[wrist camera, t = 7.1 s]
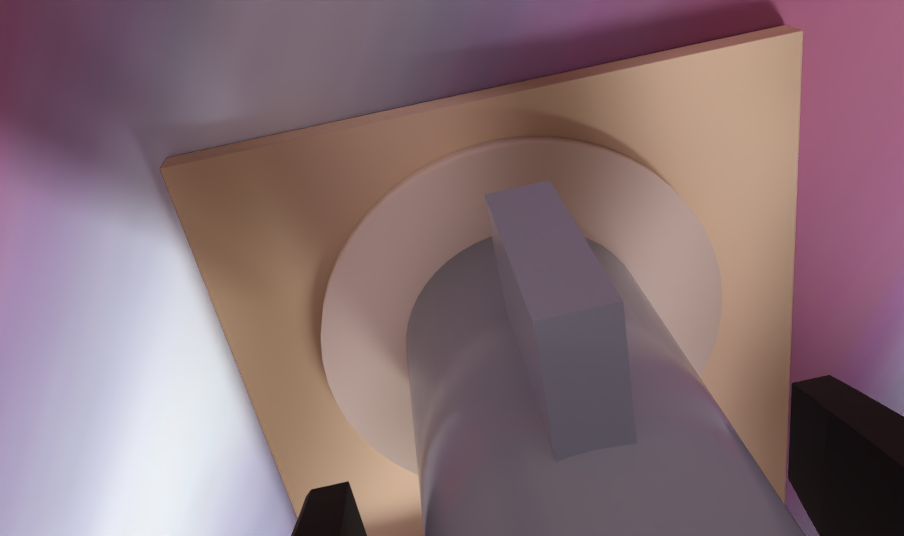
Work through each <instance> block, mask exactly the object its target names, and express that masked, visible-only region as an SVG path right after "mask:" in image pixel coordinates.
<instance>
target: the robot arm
mask: <svg viewBox="0 0 904 536" xmlns="http://www.w3.org/2000/svg"><path fill="white" fill-rule="evenodd" d="M788 478H789V480H790V482H791V484H792V486H793V488H794V490H795V491H796V493H797V495H798V497H799V499H800V501H801V503H802V505H803V507H804V508H805V510H806V512H807V514H808V516H809V517H810V519H811V521H812V523H813V524H814V526H815V528H816V530H817V531H818V533H819V535H820V536H904V417H903V416H901V415H900V414H898V413H896V412H894V411H893V410H891V409H889V408H887V407H886V406H884V405H882V404H880V403H879V402H877V401H875V400H873V399H872V398H870V397H868V396H866V395H865V394H863V393H861V392H859V391H858V390H856V389H854V388H852V387H850V386H849V385H847V384H845V383H843V382H841V381H840V380H838V379H836V378H834V377H832V376H830V375H827V376H822V377H818V378H813V379H809V380H804V381H800V382H795V383H792V395H791V420H790V445H789V470H788ZM291 536H367V534H366V531H365V528H364V525H363V522H362V519H361V516H360V513H359V510H358V507H357V504H356V501H355V498H354V495H353V492H352V489H351V486H350V483H349V481H347V482H343V483H338V484H334V485H329V486H324V487H320V488H315V489H311V490H310V492H309V493H308V494H307V496H306V498H305V500H304V503H303V506H302V509H301V512H300V514H299V517H298V519H297V522H296V525H295V527H294V530H293V532H292V535H291Z"/></svg>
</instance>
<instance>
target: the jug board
mask: <svg viewBox="0 0 904 536" xmlns="http://www.w3.org/2000/svg"><path fill="white" fill-rule="evenodd" d="M802 46H803V30H800V29H797V28H795V27H792V26H789V25H782V26H778V27H773V28H769V29H764V30H759V31H755V32H750V33H745V34H741V35H736V36H731V37H727V38H722V39H717V40H713V41H708V42H703V43H699V44H694V45H689V46H685V47H680V48H675V49H671V50H666V51H661V52H657V53H652V54H648V55H643V56H638V57H634V58H629V59H624V60H620V61H615V62H610V63H606V64H601V65H596V66H592V67H587V68H582V69H578V70H573V71H568V72H564V73H559V74H554V75H550V76H545V77H540V78H536V79H531V80H526V81H522V82H517V83H513V84H508V85H503V86H499V87H494V88H489V89H485V90H480V91H475V92H471V93H466V94H461V95H457V96H452V97H447V98H443V99H438V100H433V101H429V102H424V103H419V104H415V105H410V106H405V107H401V108H396V109H392V110H387V111H382V112H378V113H373V114H368V115H364V116H359V117H354V118H350V119H345V120H340V121H336V122H331V123H326V124H322V125H317V126H312V127H308V128H303V129H298V130H294V131H289V132H284V133H280V134H275V135H270V136H266V137H261V138H257V139H252V140H247V141H243V142H238V143H233V144H229V145H224V146H219V147H215V148H210V149H205V150H201V151H196V152H191V153H187V154H182V155H177V156H173V157H168V158H166V160H165V161H164V163H163V164H162V166H161V167H160V171H161V174H162V176H163V179H164V181H165V184H166V186H167V189H168V192H169V194H170V197H171V199H172V202H173V204H174V207H175V209H176V212H177V214H178V217H179V219H180V222H181V224H182V227H183V230H184V232H185V235H186V237H187V240H188V242H189V245H190V247H191V250H192V252H193V255H194V257H195V260H196V263H197V265H198V268H199V270H200V273H201V275H202V278H203V280H204V283H205V285H206V288H207V290H208V293H209V295H210V298H211V301H212V303H213V306H214V308H215V311H216V313H217V316H218V318H219V321H220V323H221V326H222V328H223V331H224V333H225V336H226V339H227V341H228V344H229V346H230V349H231V351H232V354H233V356H234V359H235V361H236V364H237V366H238V369H239V371H240V374H241V377H242V379H243V382H244V384H245V387H246V389H247V392H248V394H249V397H250V399H251V402H252V404H253V407H254V410H255V412H256V415H257V417H258V420H259V422H260V425H261V427H262V430H263V432H264V435H265V437H266V440H267V442H268V445H269V448H270V450H271V453H272V455H273V458H274V460H275V463H276V465H277V468H278V470H279V473H280V475H281V478H282V480H283V483H284V486H285V488H286V491H287V493H288V496H289V498H290V501H291V503H292V506H293V508H294V511H295V513H296V516H297V519H298V517H299V514H300V512H301V509H302V506H303V503H304V500H305V498H306V496H307V494H308V493H309V492H310V490H311V489H315V488H320V487H324V486H329V485H334V484H338V483H343V482H347V481H349V483H350V486H351V489H352V492H353V495H354V498H355V501H356V504H357V507H358V510H359V513H360V516H361V519H362V522H363V525H364V528H365V531H366V534H367V536H424V531H423V521H422V510H421V500H420V490H419V479H418V469H417V458H416V448H415V437H414V427H413V417H412V406H411V396H410V385H409V375H408V364H407V354H406V333H407V326H408V321H409V318H410V314H411V311H412V309H413V306H414V304H415V302H416V300H417V297H418V296H419V294H420V293H421V291H422V289H423V288H424V286H425V285H426V283H427V282H428V281H429V280H430V278H431V277H432V276H433V275H434V274H435V272H436V271H437V270H439V269H440V268H441V267H442V266H443V265H444V264H445V263H446V262H447V261H448V260H450V259H451V258H452V257H454V256H455V255H457V254H458V253H459V252H461V251H462V250H464V249H466V248H468V247H470V246H471V245H473V244H475V243H477V242H479V241H482V240H484V239H487V238H489V237H492V234H491V228H490V223H489V218H488V212H487V207H486V202H485V196H484V194H489V193H493V192H498V191H502V190H507V189H511V188H516V187H520V186H525V185H529V184H534V183H538V182H543V181H547V180H550V182H551V183H552V185H553V186H554V188H555V190H556V191H557V193H558V195H559V196H560V198H561V200H562V201H563V203H564V205H565V206H566V208H567V210H568V211H569V213H570V215H571V216H572V218H573V220H574V221H575V223H576V224H577V226H578V228H579V229H580V231H581V233H582V234H583V236H584V237H586V238H588V239H590V240H592V241H594V242H596V243H598V244H600V245H602V246H603V247H605V248H606V249H607V250H609V251H610V252H611V253H613V254H614V255H615V256H616V257H617V258H618V259H619V260H620V261H621V262H622V263H623V264H624V265H625V267H626V268H627V269H628V271H629V272H630V273H631V275H632V276H633V278H634V279H635V281H636V282H637V284H638V285H639V287H640V288H641V290H642V291H643V293H644V294H645V296H646V297H647V299H648V300H649V302H650V303H651V305H652V306H653V308H654V309H655V311H656V312H657V314H658V315H659V317H660V318H661V320H662V321H663V323H664V324H665V326H666V327H667V329H668V330H669V332H670V333H671V335H672V336H673V338H674V339H675V341H676V342H677V344H678V345H679V347H680V348H681V350H682V351H683V353H684V354H685V356H686V357H687V359H688V360H689V362H690V363H691V365H692V366H693V368H694V369H695V371H696V372H697V374H698V375H699V377H700V378H701V380H702V381H703V383H704V384H705V386H706V387H707V389H708V390H709V392H710V393H711V395H712V396H713V398H714V399H715V401H716V402H717V404H718V405H719V407H720V408H721V410H722V411H723V413H724V414H725V416H726V417H727V419H728V420H729V422H730V423H731V425H732V426H733V428H734V429H735V431H736V432H737V434H738V435H739V437H740V438H741V440H742V441H743V443H744V444H745V446H746V447H747V449H748V450H749V452H750V453H751V455H752V456H753V458H754V459H755V461H756V462H757V464H758V465H759V467H760V468H761V470H762V471H763V473H764V474H765V476H766V477H767V479H768V480H769V482H770V483H771V485H772V486H773V488H774V489H775V491H776V492H777V494H778V495H779V497H780V498H781V500H782V501H783V503H784V504H785V485H786V459H787V433H788V408H789V382H790V356H791V330H792V304H793V278H794V252H795V227H796V201H797V175H798V149H799V123H800V97H801V71H802Z"/></svg>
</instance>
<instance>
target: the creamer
mask: <svg viewBox="0 0 904 536" xmlns="http://www.w3.org/2000/svg"><path fill="white" fill-rule="evenodd" d="M484 196H485V202H486V207H487V212H488V218H489V223H490V228H491V234H492V237H489V238H487V239H484V240H482V241H479V242H477V243H475V244H473V245H471V246H470V247H468V248H466V249H464V250H462V251H461V252H459V253H458V254H457V255H455V256H454V257H452V258H451V259H450V260H448V261H447V262H446V263H445V264H444V265H443V266H442V267H441V268H440V269H439V270H437V271H436V272H435V274H434V275H433V276H432V277H431V278H430V280H429V281H428V282H427V283H426V285H425V286H424V288H423V289H422V291H421V293H420V294H419V296H418V297H417V300H416V302H415V304H414V306H413V309H412V311H411V314H410V318H409V321H408V326H407V333H406V354H407V364H408V375H409V385H410V396H411V406H412V417H413V427H414V437H415V448H416V458H417V469H418V479H419V490H420V500H421V510H422V521H423V531H424V536H805V534H804V533H803V531H802V530H801V528H800V527H799V525H798V524H797V522H796V521H795V519H794V518H793V516H792V515H791V513H790V512H789V510H788V509H787V507H786V506H785V504H784V503H783V501H782V500H781V498H780V497H779V495H778V494H777V492H776V491H775V489H774V488H773V486H772V485H771V483H770V482H769V480H768V479H767V477H766V476H765V474H764V473H763V471H762V470H761V468H760V467H759V465H758V464H757V462H756V461H755V459H754V458H753V456H752V455H751V453H750V452H749V450H748V449H747V447H746V446H745V444H744V443H743V441H742V440H741V438H740V437H739V435H738V434H737V432H736V431H735V429H734V428H733V426H732V425H731V423H730V422H729V420H728V419H727V417H726V416H725V414H724V413H723V411H722V410H721V408H720V407H719V405H718V404H717V402H716V401H715V399H714V398H713V396H712V395H711V393H710V392H709V390H708V389H707V387H706V386H705V384H704V383H703V381H702V380H701V378H700V377H699V375H698V374H697V372H696V371H695V369H694V368H693V366H692V365H691V363H690V362H689V360H688V359H687V357H686V356H685V354H684V353H683V351H682V350H681V348H680V347H679V345H678V344H677V342H676V341H675V339H674V338H673V336H672V335H671V333H670V332H669V330H668V329H667V327H666V326H665V324H664V323H663V321H662V320H661V318H660V317H659V315H658V314H657V312H656V311H655V309H654V308H653V306H652V305H651V303H650V302H649V300H648V299H647V297H646V296H645V294H644V293H643V291H642V290H641V288H640V287H639V285H638V284H637V282H636V281H635V279H634V278H633V276H632V275H631V273H630V272H629V271H628V269H627V268H626V267H625V265H624V264H623V263H622V262H621V261H620V260H619V259H618V258H617V257H616V256H615V255H614V254H613V253H611V252H610V251H609V250H607V249H606V248H605V247H603V246H602V245H600V244H598V243H596V242H594V241H592V240H590V239H588V238H586V237H584V236H583V234H582V233H581V231H580V229H579V228H578V226H577V224H576V223H575V221H574V220H573V218H572V216H571V215H570V213H569V211H568V210H567V208H566V206H565V205H564V203H563V201H562V200H561V198H560V196H559V195H558V193H557V191H556V190H555V188H554V186H553V185H552V183H551V182H550V180H547V181H543V182H538V183H534V184H529V185H525V186H520V187H516V188H511V189H507V190H502V191H498V192H493V193H489V194H484Z"/></svg>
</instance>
